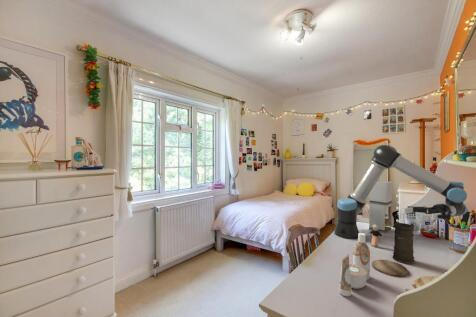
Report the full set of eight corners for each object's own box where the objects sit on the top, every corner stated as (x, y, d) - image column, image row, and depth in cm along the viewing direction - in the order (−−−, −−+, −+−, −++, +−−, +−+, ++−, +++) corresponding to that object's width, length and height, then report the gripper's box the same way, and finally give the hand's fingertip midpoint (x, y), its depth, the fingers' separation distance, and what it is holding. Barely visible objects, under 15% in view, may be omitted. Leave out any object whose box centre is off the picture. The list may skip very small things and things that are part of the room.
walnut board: (391, 261, 117) (392, 259, 117) (415, 275, 103) (415, 273, 103) (365, 262, 116) (365, 260, 115) (386, 277, 102) (386, 274, 102)
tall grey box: (385, 233, 159) (387, 182, 158) (369, 229, 167) (370, 181, 166) (391, 230, 166) (392, 181, 166) (374, 226, 174) (375, 180, 174)
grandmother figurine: (367, 245, 137) (367, 224, 137) (368, 243, 140) (369, 222, 140) (382, 249, 132) (382, 226, 132) (383, 247, 135) (384, 225, 135)
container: (418, 265, 113) (419, 228, 113) (397, 263, 115) (398, 226, 115) (408, 257, 122) (409, 223, 122) (389, 255, 124) (390, 221, 124)
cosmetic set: (354, 303, 83) (355, 251, 83) (329, 292, 90) (330, 244, 90) (375, 278, 101) (375, 234, 101) (352, 270, 108) (353, 229, 107)
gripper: (472, 223, 117) (445, 227, 109) (418, 212, 140) (394, 215, 133) (472, 208, 117) (446, 212, 109) (418, 199, 140) (394, 202, 133)
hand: (417, 213), depth 121 cm, fingers open, 13 cm apart
